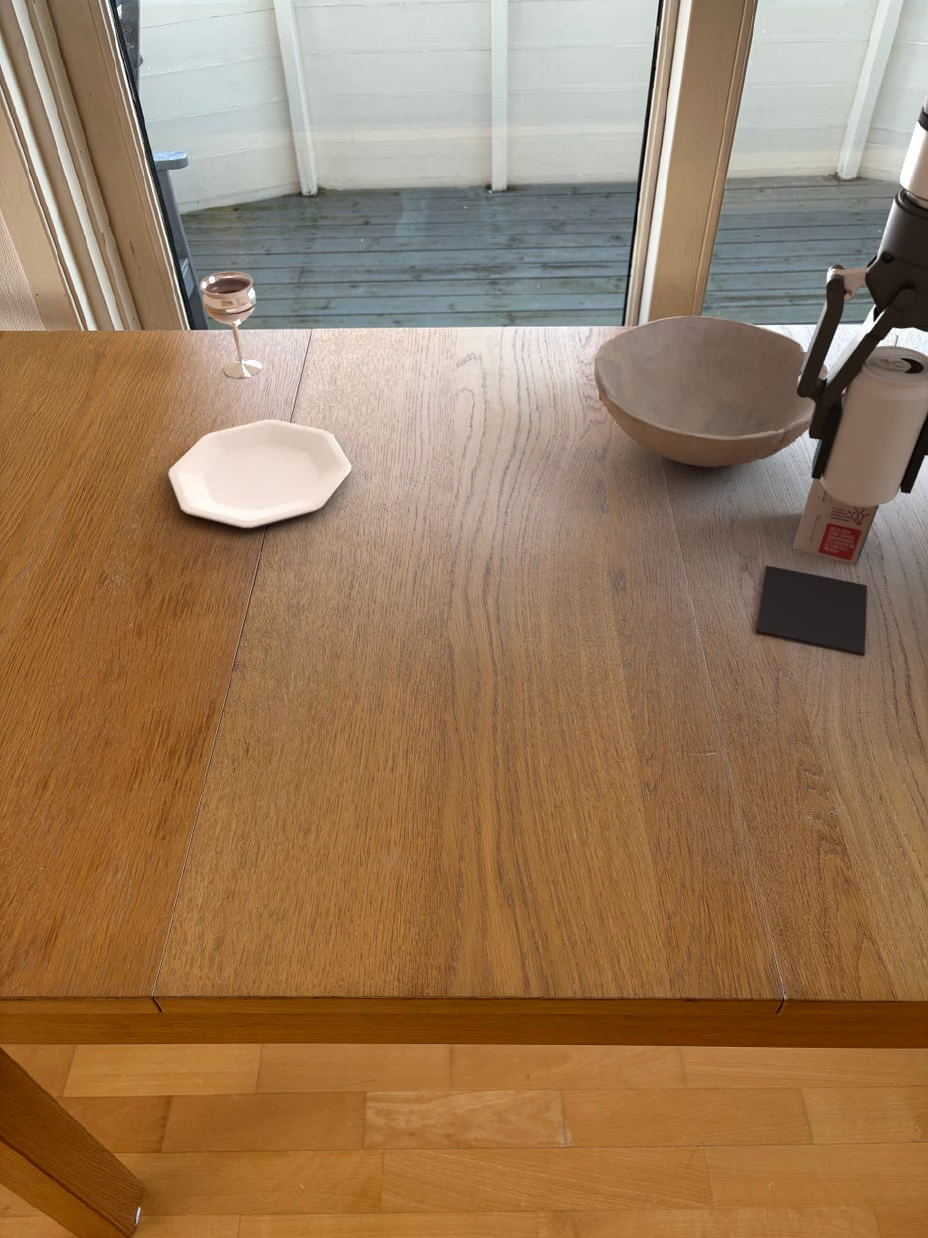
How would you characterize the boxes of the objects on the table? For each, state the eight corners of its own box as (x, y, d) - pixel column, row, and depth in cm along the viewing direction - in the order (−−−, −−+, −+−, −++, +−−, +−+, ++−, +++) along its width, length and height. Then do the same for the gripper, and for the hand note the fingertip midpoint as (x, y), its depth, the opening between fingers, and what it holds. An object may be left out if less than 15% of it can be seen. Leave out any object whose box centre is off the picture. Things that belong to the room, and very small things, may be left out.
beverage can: (901, 516, 78) (951, 387, 70) (821, 509, 79) (861, 381, 70) (889, 470, 83) (935, 344, 74) (813, 464, 83) (850, 339, 75)
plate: (196, 552, 101) (193, 541, 100) (159, 455, 114) (156, 444, 113) (370, 505, 106) (369, 494, 105) (317, 417, 119) (315, 407, 118)
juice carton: (865, 527, 103) (934, 341, 88) (856, 564, 99) (927, 376, 83) (803, 512, 105) (859, 328, 90) (792, 548, 101) (849, 360, 85)
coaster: (866, 587, 96) (867, 584, 96) (863, 656, 89) (865, 653, 89) (765, 567, 98) (766, 564, 98) (755, 633, 92) (756, 630, 91)
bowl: (853, 488, 108) (879, 412, 101) (634, 525, 104) (645, 448, 97) (750, 373, 126) (766, 302, 119) (560, 400, 122) (565, 327, 115)
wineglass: (207, 367, 128) (188, 282, 120) (249, 350, 131) (234, 266, 123) (235, 387, 125) (217, 300, 116) (277, 368, 128) (264, 283, 119)
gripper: (804, 201, 63) (738, 482, 79) (1126, 232, 59) (987, 523, 75) (809, 162, 68) (747, 434, 84) (1106, 188, 64) (980, 470, 80)
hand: (860, 476), depth 80 cm, fingers closed on beverage can, 6 cm apart
